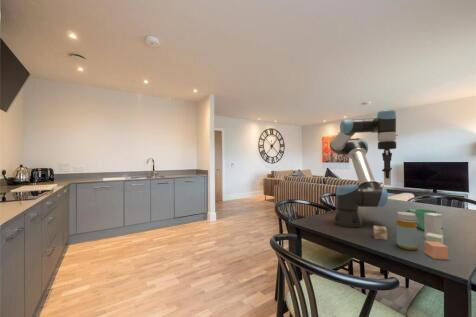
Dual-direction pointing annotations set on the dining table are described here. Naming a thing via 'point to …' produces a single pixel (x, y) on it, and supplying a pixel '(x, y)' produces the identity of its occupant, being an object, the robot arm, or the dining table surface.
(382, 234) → the maple cube
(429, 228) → the skincare box
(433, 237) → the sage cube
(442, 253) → the terracotta cube
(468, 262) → the dining table surface
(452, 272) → the dining table surface
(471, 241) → the dining table surface
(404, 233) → the bottle
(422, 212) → the mug
